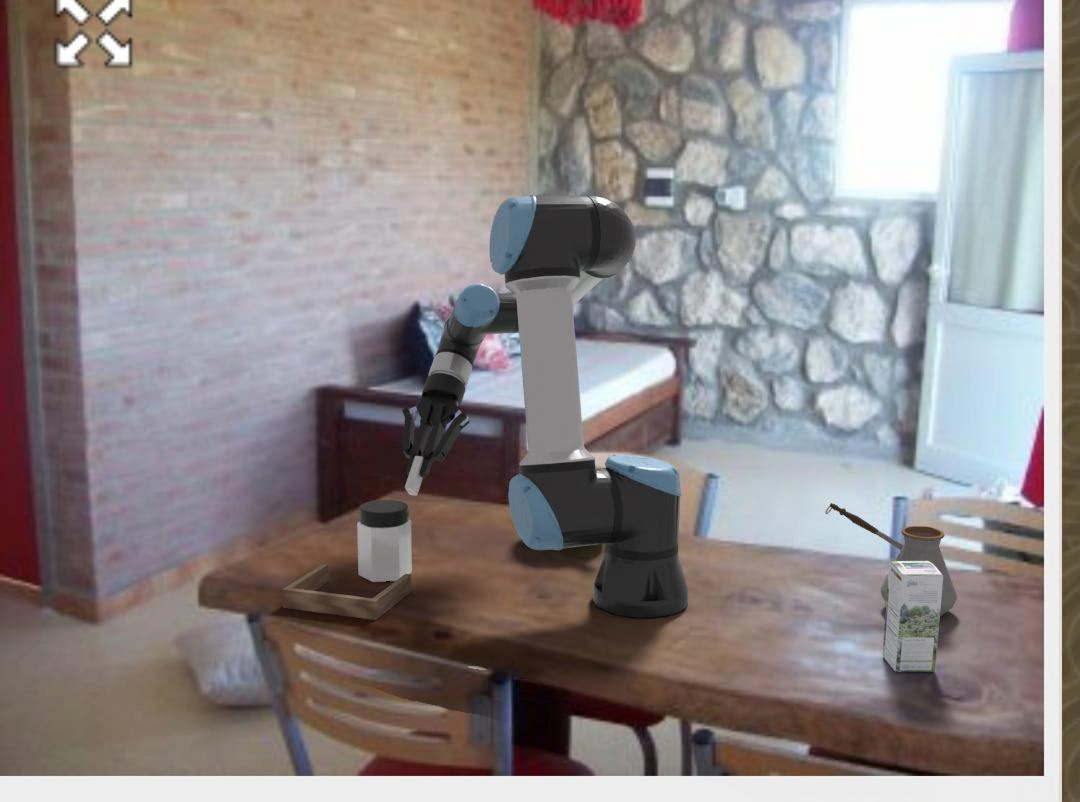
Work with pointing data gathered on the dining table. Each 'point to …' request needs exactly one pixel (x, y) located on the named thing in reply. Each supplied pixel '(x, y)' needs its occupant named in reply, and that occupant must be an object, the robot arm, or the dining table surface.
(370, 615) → the box
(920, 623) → the syrup box
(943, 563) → the coffee pot
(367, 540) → the jar
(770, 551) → the dining table surface
